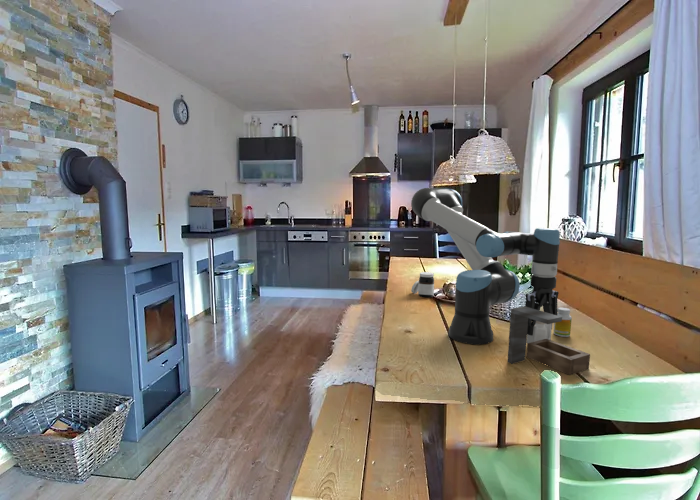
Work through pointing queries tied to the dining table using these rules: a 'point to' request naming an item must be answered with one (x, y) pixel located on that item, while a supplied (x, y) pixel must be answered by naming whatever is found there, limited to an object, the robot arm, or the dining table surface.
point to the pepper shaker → (540, 331)
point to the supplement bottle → (563, 323)
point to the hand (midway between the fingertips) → (538, 342)
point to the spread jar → (424, 285)
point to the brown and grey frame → (542, 344)
